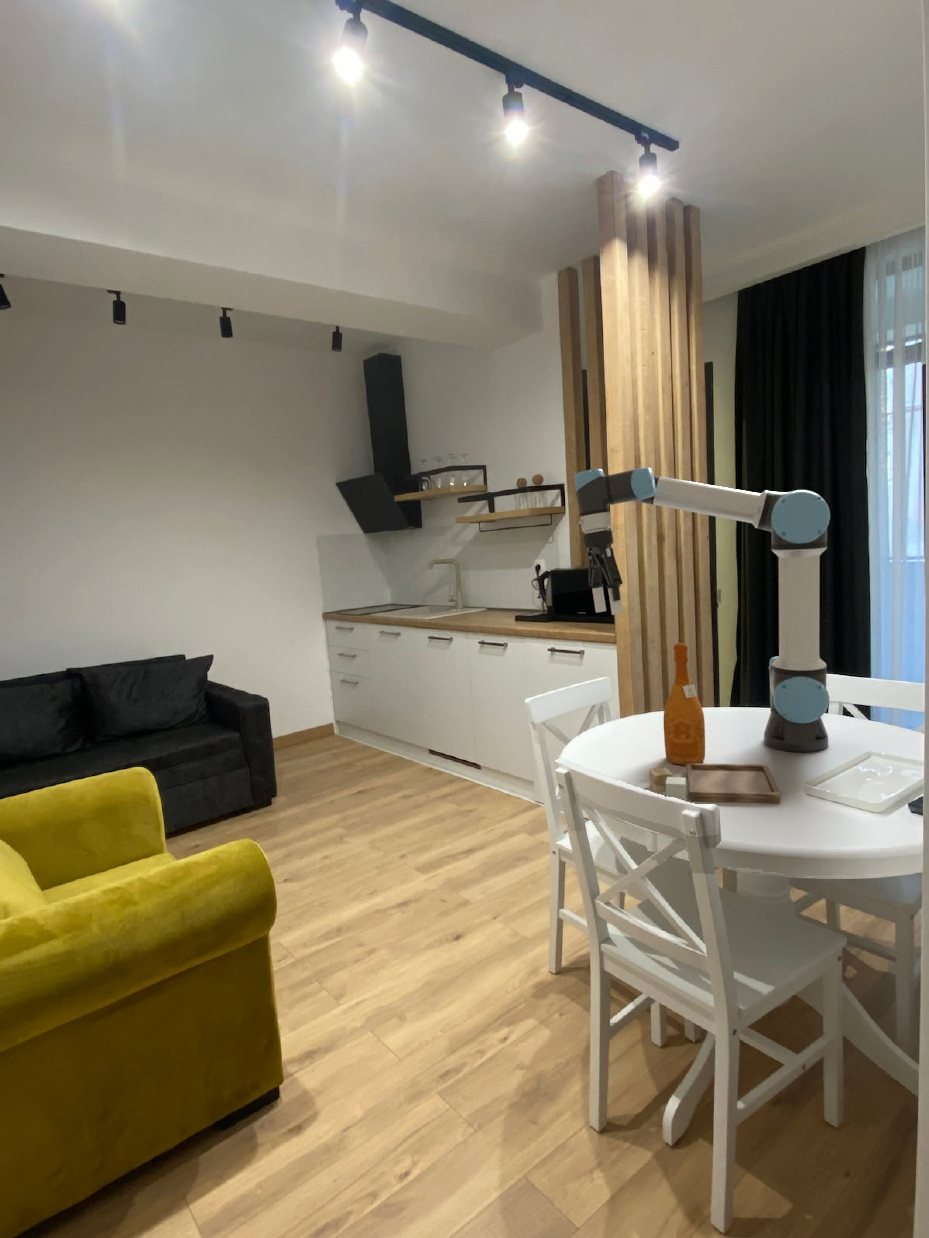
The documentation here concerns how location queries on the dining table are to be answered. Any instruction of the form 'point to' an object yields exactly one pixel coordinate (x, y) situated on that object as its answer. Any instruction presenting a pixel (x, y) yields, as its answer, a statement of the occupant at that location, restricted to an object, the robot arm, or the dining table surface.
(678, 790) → the pale grey cube
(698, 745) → the wine bottle
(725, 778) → the tray
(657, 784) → the oak block
